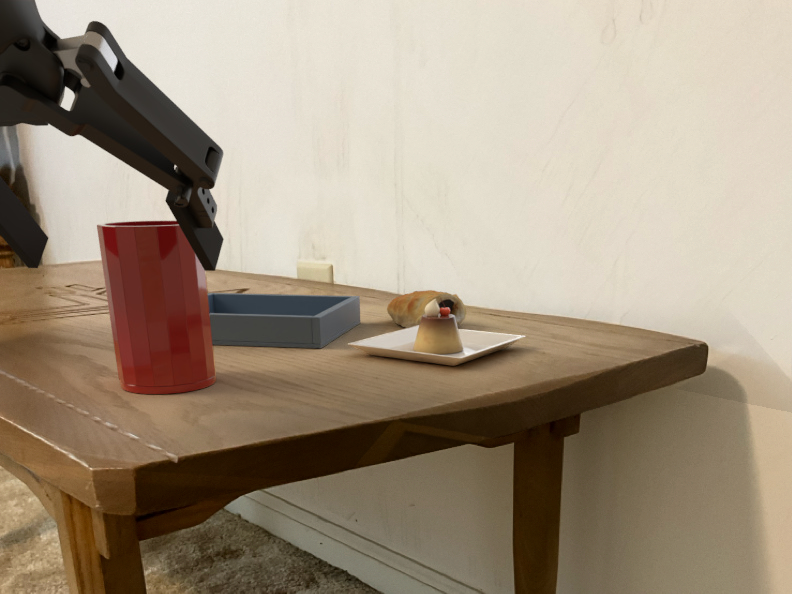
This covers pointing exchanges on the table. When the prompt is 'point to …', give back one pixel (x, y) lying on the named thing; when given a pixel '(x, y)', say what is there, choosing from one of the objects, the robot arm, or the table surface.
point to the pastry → (423, 306)
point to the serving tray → (281, 319)
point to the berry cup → (157, 307)
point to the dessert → (436, 340)
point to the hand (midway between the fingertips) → (124, 254)
